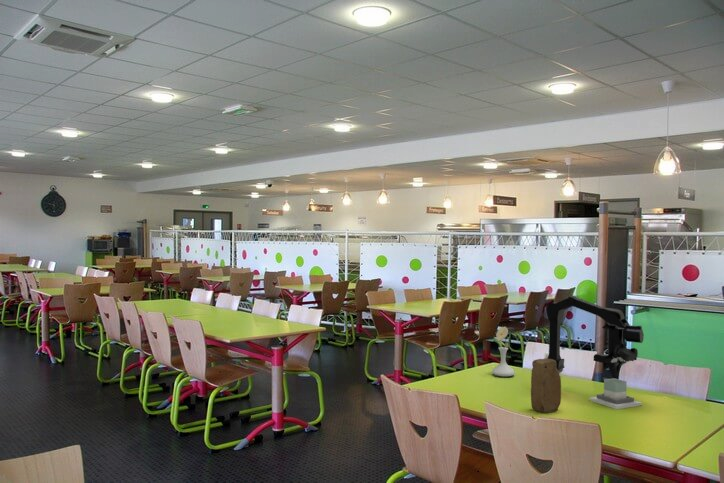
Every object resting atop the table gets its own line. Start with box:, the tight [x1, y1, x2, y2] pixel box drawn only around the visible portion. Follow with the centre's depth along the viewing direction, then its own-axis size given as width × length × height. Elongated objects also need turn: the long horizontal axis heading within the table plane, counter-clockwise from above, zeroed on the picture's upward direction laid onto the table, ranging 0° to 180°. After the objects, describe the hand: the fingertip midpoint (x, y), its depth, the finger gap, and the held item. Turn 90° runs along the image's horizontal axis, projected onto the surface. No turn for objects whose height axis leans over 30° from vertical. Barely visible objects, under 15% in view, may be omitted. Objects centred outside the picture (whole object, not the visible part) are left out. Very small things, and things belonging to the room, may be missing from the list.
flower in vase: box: [491, 326, 516, 377], centre depth 277 cm, size 13×11×25 cm
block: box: [530, 357, 562, 414], centre depth 219 cm, size 11×8×20 cm
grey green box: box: [603, 377, 627, 400], centre depth 230 cm, size 6×6×8 cm
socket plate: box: [588, 393, 643, 410], centre depth 230 cm, size 14×14×3 cm
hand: (615, 377), depth 230 cm, fingers closed
